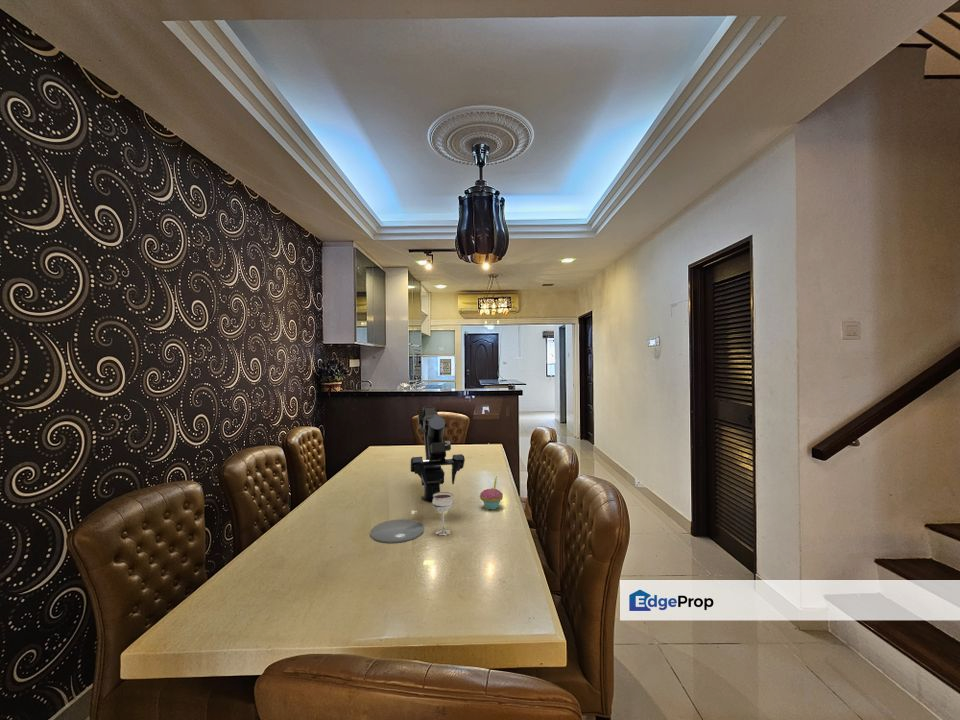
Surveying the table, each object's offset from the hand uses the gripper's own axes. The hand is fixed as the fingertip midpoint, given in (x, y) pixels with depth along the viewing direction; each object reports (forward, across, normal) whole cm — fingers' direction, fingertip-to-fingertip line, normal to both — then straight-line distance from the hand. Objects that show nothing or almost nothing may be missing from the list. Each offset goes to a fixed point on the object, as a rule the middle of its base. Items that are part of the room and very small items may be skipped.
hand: (439, 484), depth 141 cm
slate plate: (+12, -14, +7) cm, 20 cm away
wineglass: (+15, 0, +4) cm, 15 cm away
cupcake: (+2, +20, +17) cm, 27 cm away
